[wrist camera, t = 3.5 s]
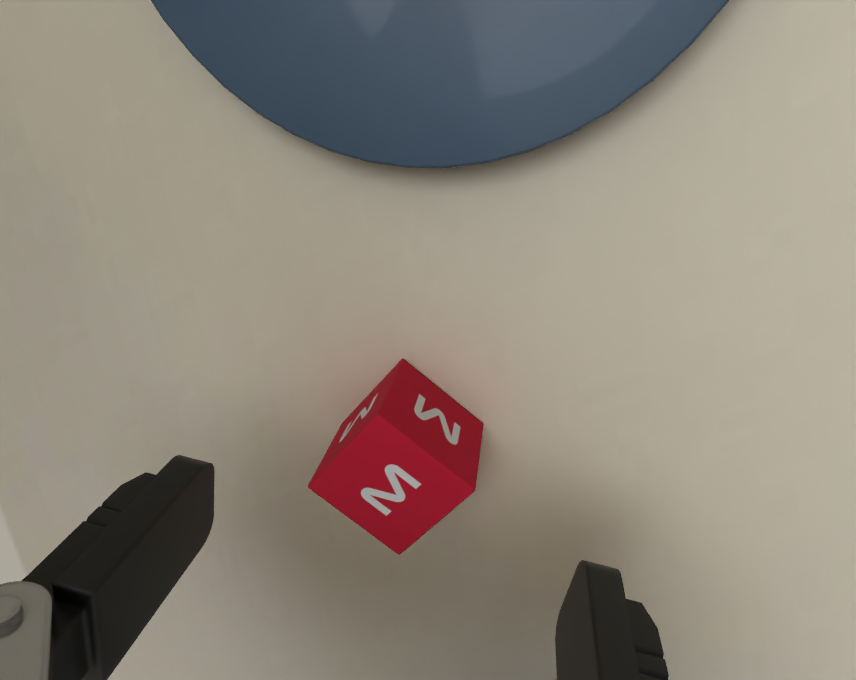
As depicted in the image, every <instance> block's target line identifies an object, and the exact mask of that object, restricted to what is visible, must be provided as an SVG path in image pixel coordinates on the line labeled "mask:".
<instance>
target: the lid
mask: <svg viewBox="0 0 856 680" xmlns="http://www.w3.org/2000/svg"><path fill="white" fill-rule="evenodd" d="M151 1H152V3H153V4H154V6H155V7H156V9H157V11H158V12H159V14H160V15H161V17H162V18H163V20H164V21H165V22H166V23H167V24H168V26H169V27H170V28H171V29H172V31H173V32H174V33H175V34H176V36H177V37H178V38H179V39H180V40H181V42H182V43H183V44H184V45H185V47H186V48H187V49H188V50H189V52H190V53H191V54H192V55H193V56H194V57H195V58H196V59H197V60H198V61H199V62H200V63H201V64H202V65H203V66H204V67H205V68H206V69H207V70H208V71H209V72H210V73H211V74H212V75H213V76H214V77H215V78H216V79H217V80H218V81H219V82H220V83H221V84H222V85H223V86H224V87H225V88H226V89H228V90H229V91H230V92H231V93H233V94H234V95H235V96H237V97H238V98H239V99H240V100H242V101H243V102H244V103H246V104H247V105H248V106H249V107H251V108H252V109H253V110H254V111H256V112H257V113H258V114H260V115H262V116H263V117H265V118H267V119H268V120H270V121H272V122H273V123H275V124H277V125H278V126H280V127H282V128H283V129H285V130H287V131H288V132H290V133H292V134H293V135H295V136H298V137H300V138H302V139H304V140H307V141H309V142H311V143H314V144H316V145H318V146H320V147H323V148H325V149H327V150H330V151H332V152H336V153H339V154H343V155H346V156H350V157H353V158H357V159H360V160H364V161H367V162H373V163H379V164H386V165H393V166H400V167H407V168H451V167H458V166H466V165H474V164H481V163H489V162H492V161H496V160H500V159H504V158H507V157H511V156H515V155H518V154H522V153H526V152H529V151H532V150H534V149H537V148H539V147H542V146H544V145H546V144H549V143H551V142H554V141H556V140H558V139H561V138H563V137H566V136H568V135H570V134H572V133H574V132H576V131H578V130H579V129H581V128H583V127H585V126H586V125H588V124H590V123H591V122H593V121H595V120H597V119H598V118H600V117H602V116H604V115H605V114H607V113H609V112H611V111H612V110H614V109H615V108H616V107H618V106H619V105H620V104H622V103H623V102H625V101H626V100H627V99H629V98H630V97H631V96H633V95H634V94H635V93H637V92H638V91H639V90H641V89H642V88H643V87H645V86H646V85H647V84H649V83H650V82H651V81H653V80H654V79H655V78H656V77H657V76H658V75H659V74H660V73H661V72H662V71H663V70H665V69H666V68H667V67H668V66H669V65H670V64H671V63H672V62H673V61H674V60H675V59H676V58H677V57H678V56H680V55H681V54H682V53H683V52H684V51H685V50H686V49H687V48H688V47H689V46H690V45H691V44H692V43H693V42H694V41H695V40H696V39H697V37H698V36H699V35H700V34H701V33H702V32H703V31H704V29H705V28H706V27H707V26H708V25H709V24H710V22H711V21H712V20H713V19H714V18H715V17H716V15H717V14H718V13H719V12H720V11H721V10H722V8H723V7H724V6H725V5H726V4H727V3H728V1H729V0H151Z"/></svg>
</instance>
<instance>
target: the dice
mask: <svg viewBox="0 0 856 680" xmlns="http://www.w3.org/2000/svg"><path fill="white" fill-rule="evenodd" d="M482 430H483V423H482V422H481V421H479V420H478V419H477V418H476V417H474V416H473V415H472V414H471V413H469V412H468V411H467V410H466V409H465V408H463V407H462V406H461V405H460V404H458V403H457V402H456V401H455V400H453V399H452V398H451V397H450V396H448V395H447V394H446V393H445V392H444V391H442V390H441V389H440V388H439V387H437V386H436V385H435V384H434V383H432V382H431V381H430V380H429V379H427V378H426V377H425V376H424V375H423V374H421V373H420V372H419V371H418V370H416V369H415V368H414V367H413V366H411V365H410V364H409V363H408V362H406V361H405V360H404V359H402V360H401V361H400V362H399V363H398V364H397V365H396V366H395V367H394V368H393V369H392V370H391V372H390V373H389V374H388V375H387V376H386V377H385V378H384V379H383V380H382V381H381V382H380V383H379V384H378V385H377V387H376V388H375V389H374V390H373V391H372V392H371V393H370V394H369V395H368V396H367V397H366V398H365V399H364V400H363V402H362V403H361V404H360V405H359V406H358V407H357V408H356V409H355V410H354V411H353V412H352V413H351V414H350V416H349V417H348V418H347V419H346V420H345V421H344V422H343V423H342V424H341V426H340V428H339V430H338V432H337V434H336V435H335V437H334V439H333V441H332V443H331V445H330V446H329V448H328V450H327V452H326V454H325V456H324V458H323V459H322V461H321V463H320V465H319V467H318V469H317V470H316V472H315V474H314V476H313V478H312V480H311V481H310V483H309V485H308V488H309V489H311V490H312V491H313V492H315V493H316V494H317V495H319V496H320V497H322V498H323V499H324V500H326V501H327V502H328V503H330V504H331V505H332V506H334V507H335V508H336V509H338V510H339V511H340V512H342V513H343V514H344V515H346V516H347V517H348V518H350V519H351V520H353V521H354V522H355V523H357V524H358V525H359V526H361V527H362V528H363V529H365V530H366V531H367V532H369V533H370V534H371V535H373V536H374V537H375V538H377V539H378V540H379V541H381V542H382V543H384V544H385V545H386V546H388V547H389V548H390V549H392V550H393V551H394V552H396V553H397V554H398V555H400V554H401V553H402V552H403V551H405V550H406V549H407V548H408V547H409V546H411V545H412V544H413V543H414V542H415V541H416V540H418V539H419V538H420V537H421V536H422V535H424V534H425V533H426V532H427V531H428V530H429V529H431V528H432V527H433V526H434V525H435V524H437V523H438V522H439V521H440V520H441V519H442V518H444V517H445V516H446V515H447V514H448V513H449V512H451V511H452V510H453V509H454V508H455V507H457V506H458V505H459V504H460V503H461V502H462V501H464V500H465V499H466V498H467V497H468V496H470V495H471V494H472V493H473V492H474V491H475V488H476V479H477V471H478V463H479V455H480V447H481V439H482Z"/></svg>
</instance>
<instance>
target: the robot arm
mask: <svg viewBox="0 0 856 680" xmlns="http://www.w3.org/2000/svg"><path fill="white" fill-rule="evenodd" d="M213 517H214V466H213V464H211V463H208V462H204V461H200V460H196V459H192V458H189V457H185V456H181V455H178V456H175V457H174V458H172V459H171V460H170V461H169V462H168V463H167V464H166V466H165V467H164V468H163V469H162V470H161V471H160V472H159V473H158V474H157V475H154V474H150V473H144V474H142V475H140V476H138V477H136V478H134V479H132V480H130V481H128V482H126V483H124V484H122V485H121V486H120V487H119V488H118V489H117V490H116V491H115V492H113V493H112V494H111V495H110V496H109V497H108V498H107V499H106V500H105V501H104V502H103V504H102V506H101V507H98V508H97V509H96V510H95V511H94V512H93V513H92V514H91V515H90V516H89V517H88V519H87V521H86V522H85V521H83V522H82V523H81V524H80V525H79V526H78V527H77V528H76V529H75V530H74V531H73V532H72V533H71V534H70V535H69V536H68V537H67V538H66V539H65V540H64V541H63V542H62V543H61V544H60V545H59V546H58V547H57V548H56V549H54V550H53V551H52V552H51V553H50V554H49V555H48V556H47V557H46V558H45V559H44V560H43V561H42V562H41V563H40V564H39V565H38V566H37V567H36V568H35V569H34V570H33V571H32V572H31V573H30V574H29V575H28V576H26V577H25V578H24V579H23V580H22V581H17V582H9V583H4V584H0V680H107V679H108V678H109V676H110V675H111V673H112V672H113V671H114V669H115V668H116V666H117V665H118V664H119V662H120V661H121V660H122V658H123V657H124V655H125V654H126V653H127V651H128V650H129V648H130V647H131V646H132V644H133V643H134V641H135V640H136V639H137V637H138V636H139V634H140V633H141V632H142V630H143V629H144V627H145V626H146V625H147V623H148V622H149V620H150V619H151V618H152V616H153V615H154V614H155V612H156V611H157V609H158V608H159V607H160V605H161V604H162V602H163V601H164V600H165V598H166V597H167V595H168V594H169V593H170V591H171V590H172V588H173V587H174V586H175V584H176V583H177V581H178V580H179V579H180V577H181V576H182V575H183V573H184V572H185V570H186V569H187V568H188V566H189V565H190V563H191V562H192V561H193V559H194V558H195V556H196V555H197V554H198V552H199V551H200V549H201V548H202V547H203V545H204V543H205V542H206V540H207V538H208V535H209V533H210V530H211V527H212V523H213ZM555 645H556V667H557V680H668V676H669V675H668V671H667V666H666V662H665V659H663V655H664V654H663V649H662V645H661V641H660V637H659V633H658V628H657V627H656V625H655V623H654V622H653V620H652V619H651V617H650V615H649V614H648V612H647V611H646V609H645V607H644V606H643V604H642V603H639V602H636V601H632V600H628V599H626V598H625V593H624V587H623V582H622V577H621V573H620V571H619V570H618V569H615V568H611V567H607V566H604V565H600V564H596V563H592V562H588V561H584V560H581V561H580V562H579V564H578V566H577V568H576V571H575V574H574V576H573V579H572V581H571V584H570V586H569V589H568V591H567V594H566V596H565V599H564V601H563V604H562V606H561V609H560V612H559V616H558V620H557V626H556V638H555Z"/></svg>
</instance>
